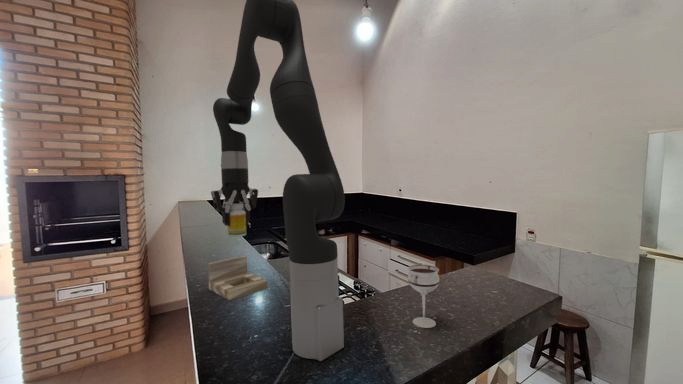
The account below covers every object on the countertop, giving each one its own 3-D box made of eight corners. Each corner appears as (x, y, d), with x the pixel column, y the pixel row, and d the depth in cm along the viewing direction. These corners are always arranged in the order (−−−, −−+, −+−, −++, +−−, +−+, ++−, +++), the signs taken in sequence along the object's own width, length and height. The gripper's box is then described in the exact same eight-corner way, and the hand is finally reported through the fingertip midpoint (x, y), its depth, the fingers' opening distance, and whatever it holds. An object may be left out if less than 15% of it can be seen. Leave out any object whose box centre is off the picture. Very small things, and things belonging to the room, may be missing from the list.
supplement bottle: (225, 235, 89) (223, 203, 89) (242, 233, 93) (241, 202, 92) (231, 238, 85) (230, 204, 85) (249, 235, 89) (248, 203, 88)
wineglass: (431, 314, 70) (430, 263, 69) (446, 328, 63) (445, 272, 62) (403, 317, 68) (402, 265, 68) (416, 331, 62) (415, 274, 61)
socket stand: (267, 288, 90) (266, 262, 89) (229, 300, 81) (228, 271, 81) (245, 278, 99) (244, 255, 99) (208, 289, 90) (207, 263, 90)
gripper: (216, 166, 80) (218, 228, 81) (262, 167, 91) (264, 222, 91) (205, 167, 86) (207, 226, 86) (250, 168, 96) (252, 220, 97)
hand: (236, 224), depth 89 cm, fingers closed on supplement bottle, 5 cm apart
